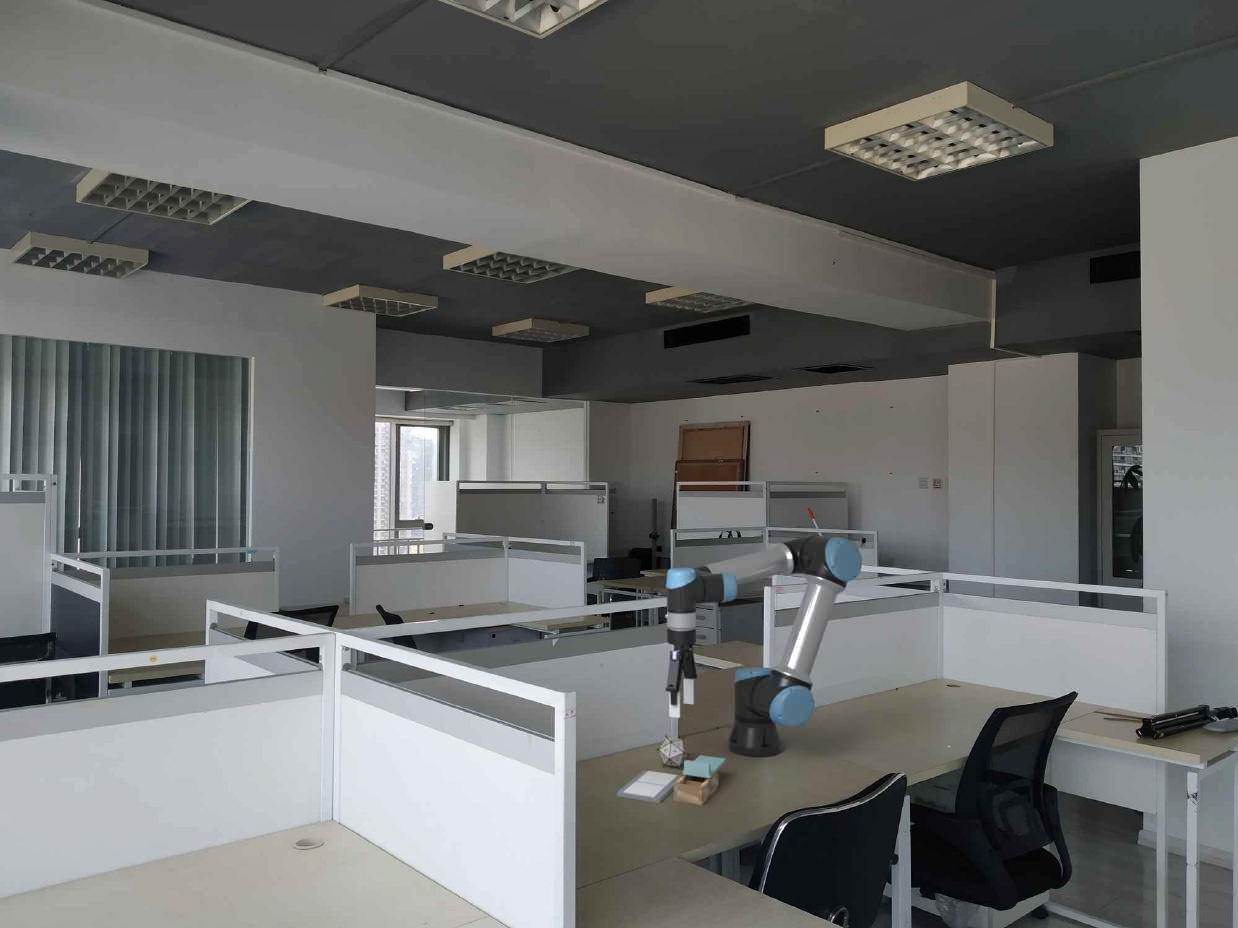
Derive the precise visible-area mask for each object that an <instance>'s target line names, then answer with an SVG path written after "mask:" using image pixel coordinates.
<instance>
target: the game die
mask: <svg viewBox="0 0 1238 928" xmlns="http://www.w3.org/2000/svg"><path fill="white" fill-rule="evenodd" d="M664 736H665V739H664V741H663V742H662V743H661V745H660V746H659V748H655V750H656V751H658V752H659V756H660V758H661V761H662V763H663V764H662V766H661V767H662V768H665V766H669V767H671V766H672V767H678V768H679V769H680V770H682V764H684V761H685V760H686V758H687V756H691V755H692V754H691V753H688V751H687V748H686V744H685V742H684V739H685V736H682V738H674V737H668V735H667V734H665V735H664Z"/></svg>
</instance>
